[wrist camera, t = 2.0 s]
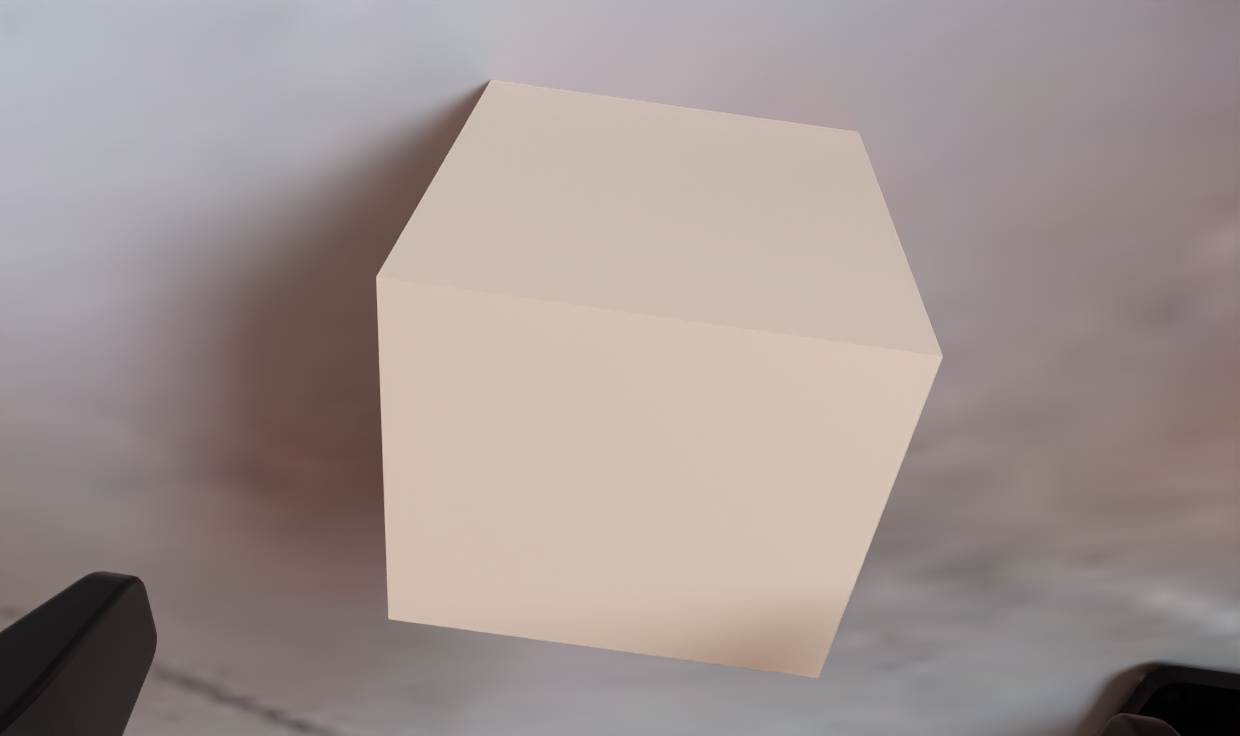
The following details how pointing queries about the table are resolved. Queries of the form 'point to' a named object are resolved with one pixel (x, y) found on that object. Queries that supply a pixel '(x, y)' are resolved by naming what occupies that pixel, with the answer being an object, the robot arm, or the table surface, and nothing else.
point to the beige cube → (645, 380)
